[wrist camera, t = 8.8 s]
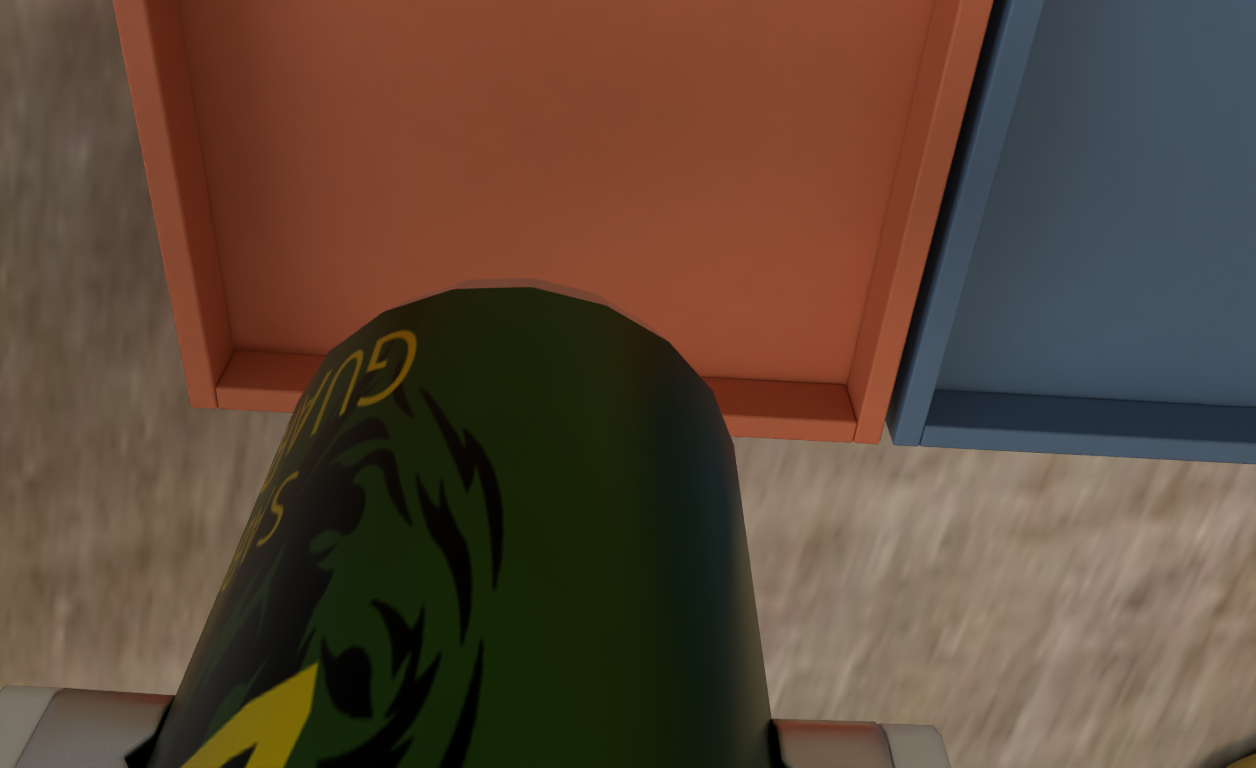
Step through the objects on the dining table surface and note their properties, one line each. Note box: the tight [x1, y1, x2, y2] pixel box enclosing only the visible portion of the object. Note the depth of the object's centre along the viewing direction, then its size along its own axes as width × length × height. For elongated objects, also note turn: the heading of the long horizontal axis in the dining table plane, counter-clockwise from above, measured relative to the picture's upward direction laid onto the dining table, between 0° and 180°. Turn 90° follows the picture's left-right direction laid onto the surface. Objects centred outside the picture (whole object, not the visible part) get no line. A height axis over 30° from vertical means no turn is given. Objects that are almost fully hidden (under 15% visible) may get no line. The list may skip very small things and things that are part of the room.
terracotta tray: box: [113, 0, 994, 444], centre depth 21 cm, size 15×12×2 cm
